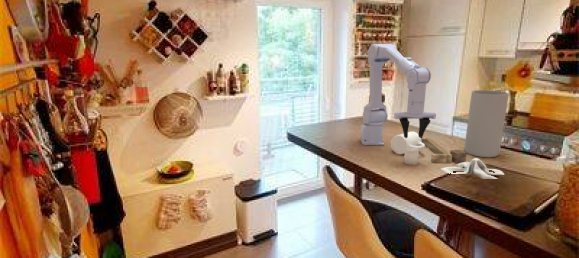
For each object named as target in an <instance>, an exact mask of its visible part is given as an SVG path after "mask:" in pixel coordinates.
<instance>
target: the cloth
mask: <svg viewBox="0 0 579 258" xmlns="http://www.w3.org/2000/svg"><path fill="white" fill-rule="evenodd" d="M461 166H462V167H461ZM463 167H464V168H463ZM440 169H441V170H442V172H443V171H444V172H445V173H444V172H443V173H444V174H446V173H449V174H450V173H451V174H468V173H472V174H474V175H476V176H478V177H480V178H482V179H498V177H495V176H491V175H505V173H504V172H503V171H502V170H500V169H496V168H488V167H487V165H486V164H485V163H484V162H483V161H482V160H481V159H480V158H477V157H475V158H473V159H471V161H470V162H469V161H466V162H462V163H456V166H446V167H442V168H440ZM441 170H440V171H441ZM489 170H492V171H494V172H495V173H493V172H489ZM453 171H464V172H456V173H453Z"/></svg>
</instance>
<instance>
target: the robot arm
mask: <svg viewBox="0 0 579 258" xmlns="http://www.w3.org/2000/svg"><path fill="white" fill-rule="evenodd" d="M367 55H368V56H367V63H368V64H369V102H368V103H367V104H365V106H363V112H362V121H363V122H364V123H361V124H360V139H359V141H360V142H361V144H362V145H363V146H384V145H385V143H384V141H383V128H384V126H383V125H385V123H386V122H387V120H388V116H389V115H388V114H389V113H388V111H387V106H386V105H385V104H384V103H383V101H382V100H383V98H382V97H383V95H382V94H383V93H382V92H383V91H382V90H383V66H384V65H385V64H387V63H389V61H392V62H393V63H394V64H396V65H397V70H398V71H399V72H400V73H402V74H403V75H404V76H405V80H406V83H407V89H408V94H407V95H408V97H407V107H406V109H407V110H406V111H405V112H404V111H403V112H394V114H393V115H394V117H393V118H394V119H395V120H399V123H400V125H401V127H402V132H403V133H404V137H405V138H407V137H408V132H409V125H410V121H409V119H411V120H412V119H418V124H419V125H418V127H419V128H418V134H419V137H420V138H424V134H425V131H426V129H427V128H428V126H429V125H430V123H431V120H436V117H437V113H435V112H424V111H425V101H426V91H427V84H429V82H430V81H431V77H432V74H431V71H430V69H429V68H428V67H421V65H420V64H418V63H416V62H415V61H414V60H413V58H412V57H408V56H407V57H404V56H403V54H401V53H400V52H399V51H398V47H397V45H395V44H394V43H392V42H390V43H371V45H370V46H369V48H368V50H367ZM403 133H402V134H403Z"/></svg>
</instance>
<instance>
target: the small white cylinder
mask: <svg viewBox="0 0 579 258" xmlns="http://www.w3.org/2000/svg"><path fill="white" fill-rule="evenodd" d="M419 153H420V150H418V149H415V148H406V149H405V153H404V156H403V157H404V158H403V163H404V164H406V165H413V166H414V165H417V164H419V163H418V162H419Z"/></svg>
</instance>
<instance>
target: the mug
mask: <svg viewBox="0 0 579 258" xmlns="http://www.w3.org/2000/svg"><path fill="white" fill-rule="evenodd" d="M390 146H391V149H392V151H393V152H394V153H395V154H398V155H403V154H405V149H406V148H415V149H418V150H419V151H420V150H423V149H425V147H426V145H425V144H424V143H422V140H421V138H420V137H419V132H418V133H417V131H408V137H407V138H405V137H404V133H400V134H396V135H394V136H393V137H392V138H391V141H390Z"/></svg>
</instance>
